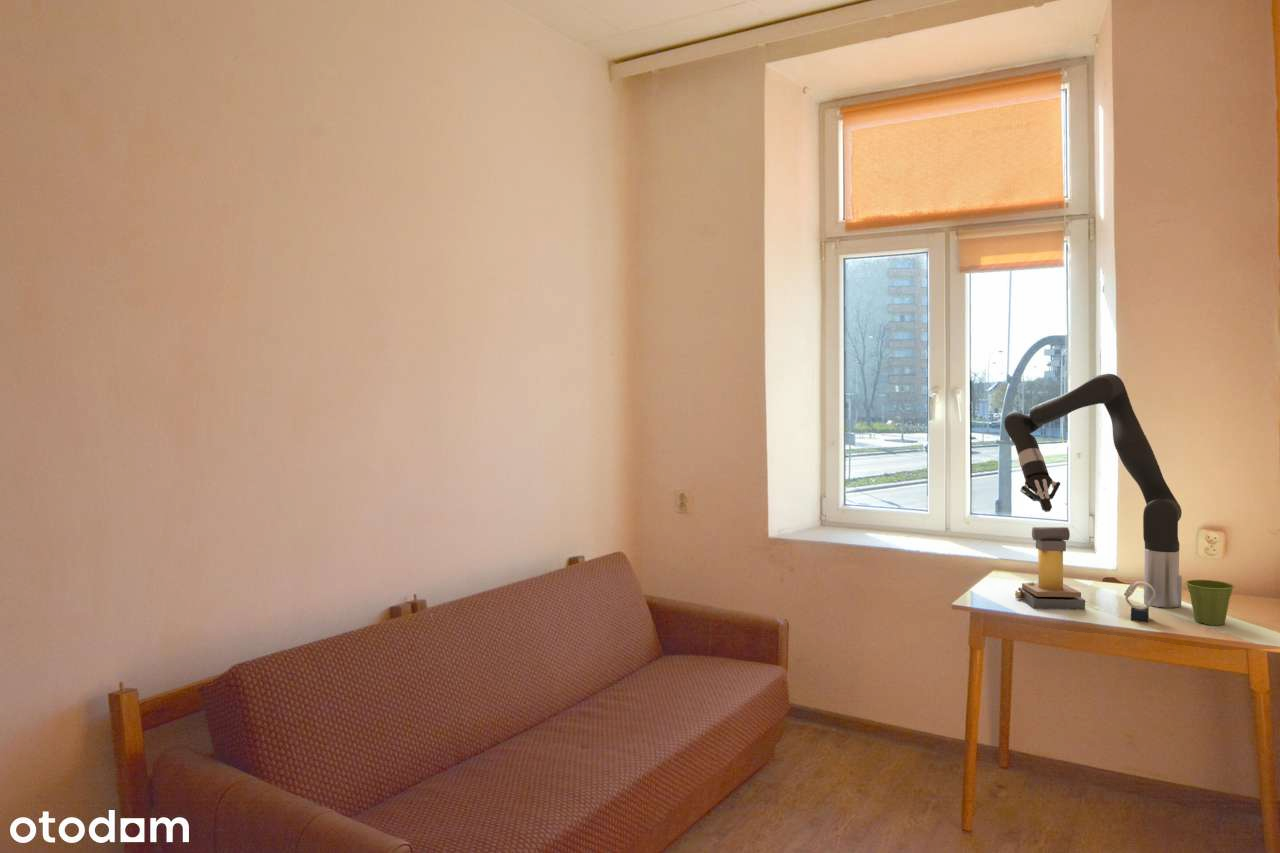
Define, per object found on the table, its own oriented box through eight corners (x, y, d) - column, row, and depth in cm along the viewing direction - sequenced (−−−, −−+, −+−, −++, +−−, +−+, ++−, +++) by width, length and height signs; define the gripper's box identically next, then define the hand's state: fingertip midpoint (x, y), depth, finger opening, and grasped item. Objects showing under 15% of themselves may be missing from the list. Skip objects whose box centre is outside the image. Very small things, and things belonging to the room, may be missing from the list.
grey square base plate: (1070, 596, 277) (1070, 587, 277) (1090, 609, 261) (1090, 600, 260) (1011, 595, 279) (1011, 586, 279) (1028, 608, 263) (1028, 598, 263)
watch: (1123, 615, 254) (1124, 578, 254) (1155, 618, 250) (1156, 581, 250) (1123, 619, 250) (1123, 582, 249) (1155, 623, 245) (1155, 585, 245)
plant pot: (1214, 616, 252) (1215, 578, 251) (1244, 627, 240) (1245, 588, 239) (1175, 617, 251) (1175, 579, 251) (1203, 628, 240) (1203, 588, 239)
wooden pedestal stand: (1064, 588, 275) (1064, 524, 275) (1081, 597, 261) (1080, 530, 261) (1022, 587, 277) (1021, 524, 277) (1036, 596, 263) (1036, 529, 263)
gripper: (1014, 462, 288) (1029, 508, 279) (1055, 456, 286) (1071, 503, 277) (1010, 472, 294) (1024, 517, 285) (1050, 467, 293) (1066, 513, 284)
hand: (1048, 510), depth 281 cm, fingers closed
